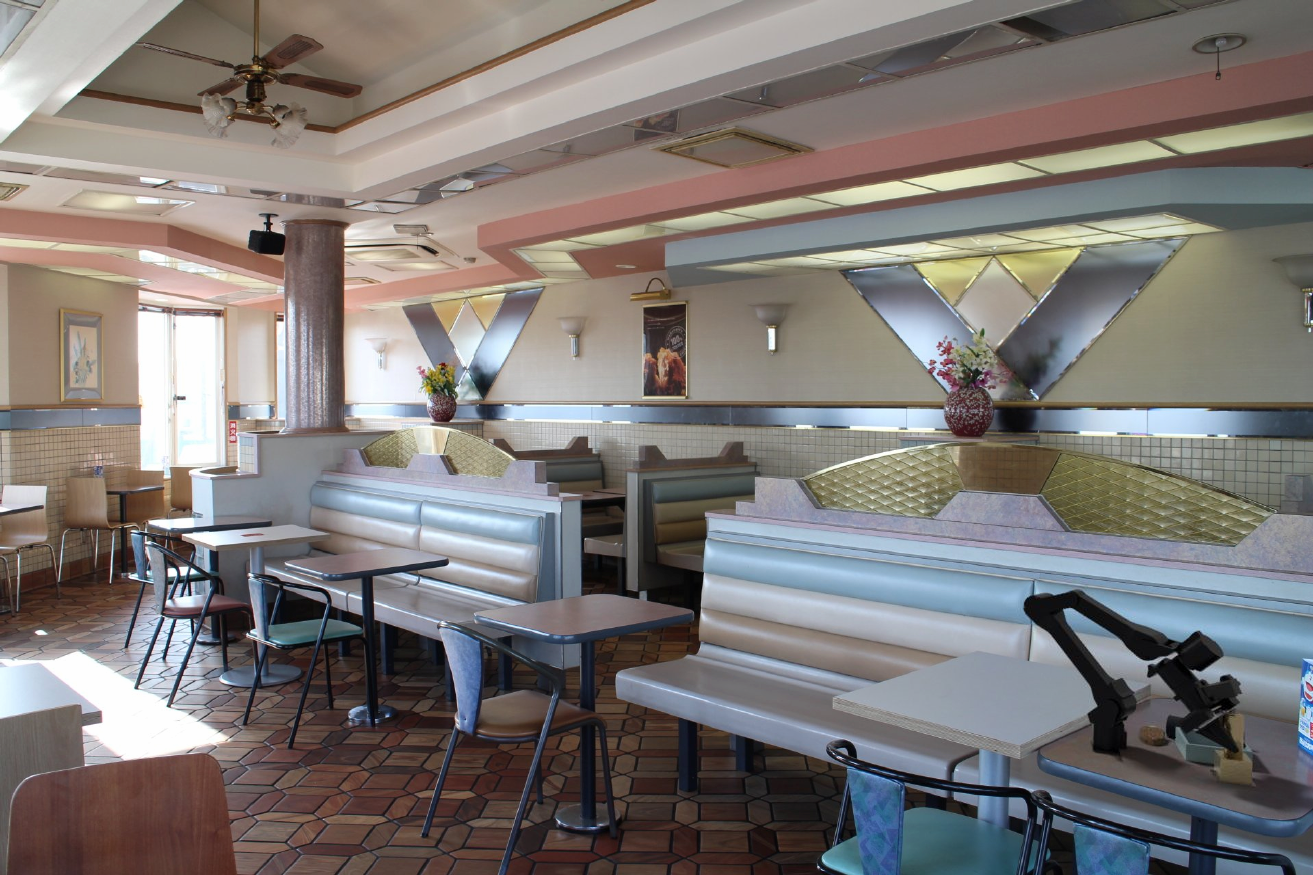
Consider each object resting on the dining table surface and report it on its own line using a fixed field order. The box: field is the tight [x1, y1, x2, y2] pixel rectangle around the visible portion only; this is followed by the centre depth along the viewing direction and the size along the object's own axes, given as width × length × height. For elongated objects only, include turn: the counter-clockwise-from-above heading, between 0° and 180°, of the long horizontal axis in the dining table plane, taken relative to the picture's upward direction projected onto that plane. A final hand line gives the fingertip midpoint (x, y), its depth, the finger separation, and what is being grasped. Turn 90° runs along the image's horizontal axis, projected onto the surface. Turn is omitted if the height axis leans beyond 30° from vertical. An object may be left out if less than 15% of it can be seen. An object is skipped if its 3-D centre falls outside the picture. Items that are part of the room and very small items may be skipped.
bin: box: [1174, 727, 1254, 765], centre depth 207 cm, size 12×12×4 cm
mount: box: [1209, 769, 1257, 787], centre depth 194 cm, size 7×7×4 cm
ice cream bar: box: [1138, 725, 1166, 746], centre depth 219 cm, size 5×4×15 cm
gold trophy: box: [1213, 712, 1253, 785], centre depth 193 cm, size 6×6×13 cm
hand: (1241, 749), depth 192 cm, fingers open, 4 cm apart
